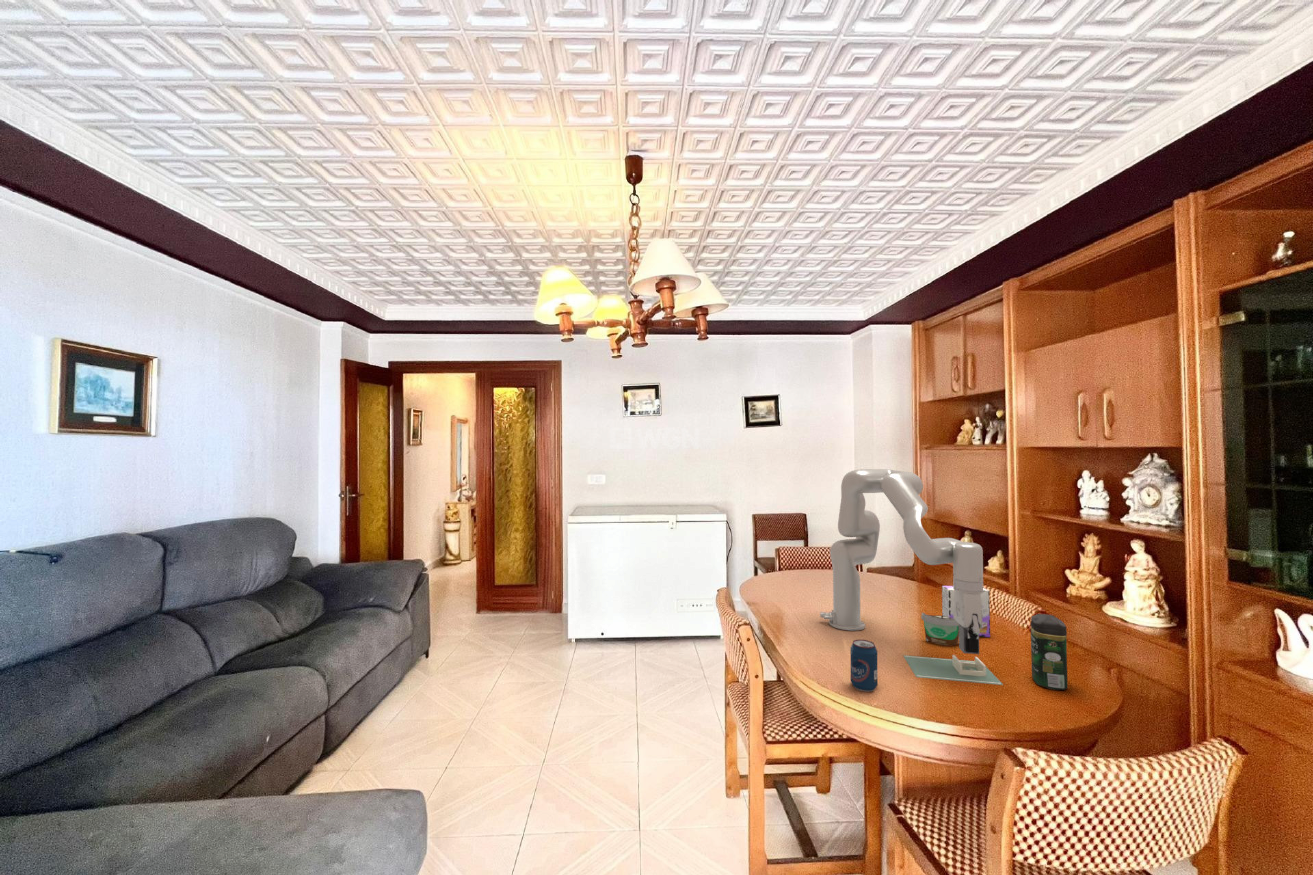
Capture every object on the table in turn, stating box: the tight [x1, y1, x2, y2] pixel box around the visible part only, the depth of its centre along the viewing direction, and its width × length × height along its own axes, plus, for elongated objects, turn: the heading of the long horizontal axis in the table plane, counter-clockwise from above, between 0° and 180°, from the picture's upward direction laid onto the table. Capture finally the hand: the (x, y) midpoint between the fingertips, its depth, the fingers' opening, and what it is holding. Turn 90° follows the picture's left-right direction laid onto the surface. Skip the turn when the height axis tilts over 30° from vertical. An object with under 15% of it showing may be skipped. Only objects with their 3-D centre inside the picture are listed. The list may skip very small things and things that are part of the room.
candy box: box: [941, 585, 991, 638], centre depth 187 cm, size 14×6×16 cm, turn 84°
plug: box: [958, 624, 980, 655], centre depth 153 cm, size 4×4×7 cm
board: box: [902, 654, 1004, 686], centre depth 154 cm, size 22×16×1 cm
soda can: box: [850, 639, 879, 693], centre depth 146 cm, size 7×7×12 cm
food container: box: [920, 612, 959, 647], centre depth 175 cm, size 12×6×10 cm, turn 62°
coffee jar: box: [1030, 613, 1069, 691], centre depth 148 cm, size 10×8×19 cm
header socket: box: [952, 654, 987, 677], centre depth 153 cm, size 7×7×3 cm
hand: (969, 648), depth 153 cm, fingers closed on plug, 4 cm apart
